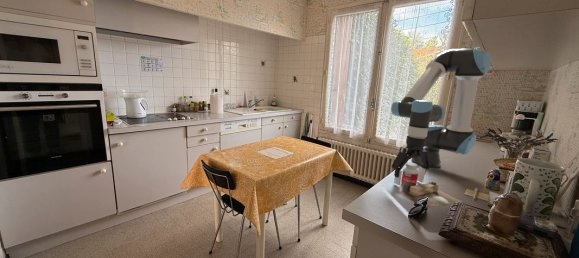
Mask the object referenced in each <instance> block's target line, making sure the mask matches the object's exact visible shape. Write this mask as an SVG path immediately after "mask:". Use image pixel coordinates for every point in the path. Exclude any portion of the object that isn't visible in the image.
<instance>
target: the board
mask: <svg viewBox="0 0 579 258" xmlns="http://www.w3.org/2000/svg"><path fill="white" fill-rule="evenodd" d="M411 186H412V184H411V183H409V182H408V183H404V185H403V188H402V189H403V190H400V191H399V190H398V191H396V192H397V193H398V194H400V195H402V196H403V197H405V198H406V199H408V200H410V201H411V202H413V203H415V202H416V201H417V200H419V199H421V198H425V197H428V198H429V199H428V202H427V206H426V208H425V209H427V208H432V207H441V206H444V205H446V206H447V205H451V204H456V203H455V202H459V203H463V201H462V200H459V199H458V198H455V197H454V196H451V195H450V194H448V193H446V192H444V191H441V190H440V189H438V192H432V193H427V194H423V195H418V196H413V195H411V194H409V192H410V187H411ZM415 204H416V203H415Z"/></svg>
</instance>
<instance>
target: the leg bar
mask: <svg viewBox="0 0 579 258" xmlns="http://www.w3.org/2000/svg"><path fill="white" fill-rule="evenodd" d="M439 186H440V184H438V183H437V182H436V181H429V182H428V183H422V184H416V186H411V187H410V192H409V194H411V195H413V196H418V195H423V194H427V193H432V192H438V190H439Z"/></svg>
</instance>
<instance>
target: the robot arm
mask: <svg viewBox="0 0 579 258" xmlns="http://www.w3.org/2000/svg"><path fill="white" fill-rule="evenodd" d="M477 48H478V47H477V46H476V47H468V48H467V47H466V48H451V49H448V50H445V51H442V52H441V53H439V54H438V55H436V56H435V57H433V59H431V60H430V61H429V62H428V64H427V65H426V67H425V71H424V72H423V73H422V74H421V76H420V77H419V78H418V80H417V81H416V82H415V83H414V84H413V86H412V87H411V88H410V89H409V91H408V92H407V94H405V96H404V97H403V98H402V100H396V101H393V102H392V103H391V108H390V111H391V113H392V115H393V116H395V117H400V118H407V119H409V122H408V128H407V136H406V139H405V144H406V147H403V146H400V148H399V152H398V154H397V156H396V157H395V158H394V160H393V163H392V164H391V168H392V169H394V174H393V176H394V181H393V183H394V184H395V185H398V186H401V179H402V174H403V170H402V169H404V168H405V167H404V166H406V163H407V162H408V161H409V160H411V162H412V163H415V164H417V165H418V166H419V167H418V172H419V173H418V178H417V182H420V183H422V184H424V180H425V175H426V171H427V170H429V169H430V168H439V167H441V163H442V162H441V156H440V151H441V150H442V151H447V152H449V153H450V152H451V153H454V154H456V155H457V154H458V155H459V154H460V155H464V156H465V155H468V154H469V153H470V152H471V151H472V150H473V149H474V146H475V144H476V141H477V134H475V133H473V132H474V129H473V128H472V127H471V123H472V118H473V112H474V108H475V107H474V106H475V102H476V95H477V89H478V85H479V80H480V79H482V78H483V77H484V74H486V73H488V72H489V71H490V67H491V66H492V54H491V52H490V53H487V52H483V51H479V50H478V49H477ZM447 73H454V77H455V78H456V79H457V81H456V88H455V94H454V99H453V105H452V112H451V117H450V124H449V125H447V126H446V128H445V126H444V125H439V124H438V125H437V124H430V123H436V122H439V121H442V120H443V119H444V118H445V115H446V109H445V108H444V106H443V105H439V104H434V103H433V101H431V100H425V99H424V98H425V97H426V95H427V94H428V93H429V92H430V90H431V89H432V88H433V86H434V85H435V84H436V83H437V81H438V80H439V79H440V78H441V77H443V76H444V75H445V74H447Z"/></svg>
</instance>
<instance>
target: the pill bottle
mask: <svg viewBox="0 0 579 258" xmlns="http://www.w3.org/2000/svg"><path fill="white" fill-rule="evenodd" d="M418 166H419V164H416V163H414V162H412V161H411V162H410V161H409V162H407V163H406V164H405V167H403V168H402V169H403V170H402V175H401V181H400V185H402V186H404V183H408V182H409V183H411V184H412V186H416V185H418V184H417V183H418V180H417V178H418V173H419V167H418Z"/></svg>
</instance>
